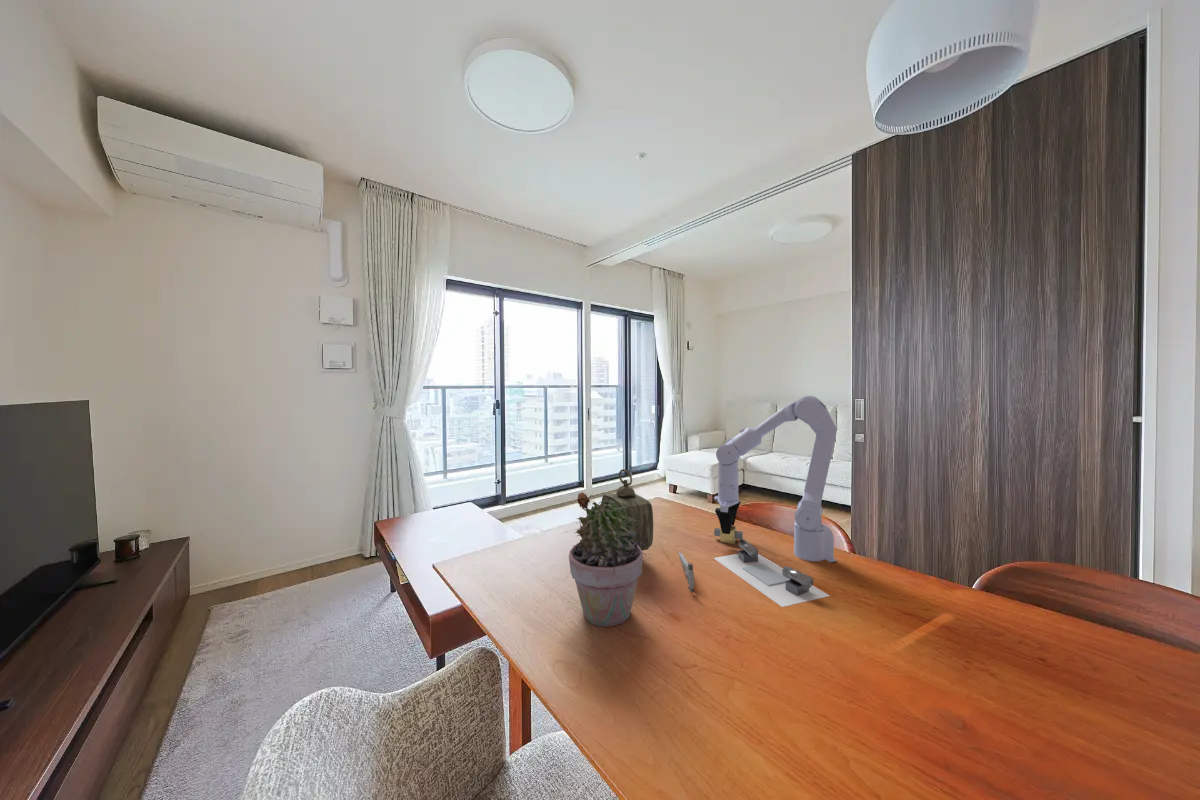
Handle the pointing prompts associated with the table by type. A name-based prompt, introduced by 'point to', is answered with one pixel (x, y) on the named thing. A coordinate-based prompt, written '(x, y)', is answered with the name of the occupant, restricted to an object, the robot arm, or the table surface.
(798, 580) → the shaft
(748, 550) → the shaft
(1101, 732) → the table surface
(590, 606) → the potted plant
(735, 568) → the bench
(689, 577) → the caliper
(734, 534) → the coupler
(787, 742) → the table surface
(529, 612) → the table surface
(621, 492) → the tabletop clock
